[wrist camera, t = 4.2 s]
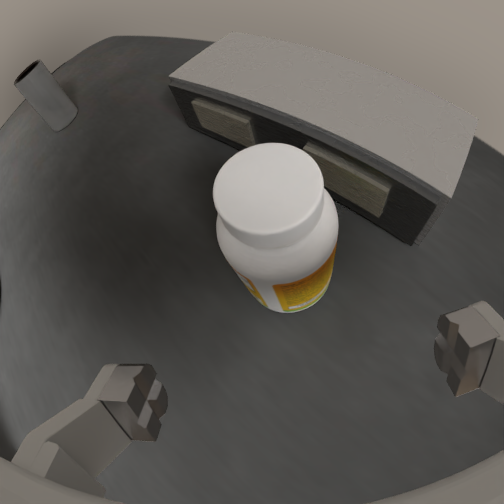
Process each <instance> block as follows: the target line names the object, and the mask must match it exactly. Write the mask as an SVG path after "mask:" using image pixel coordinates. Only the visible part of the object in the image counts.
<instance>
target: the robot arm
mask: <svg viewBox="0 0 504 504" xmlns="http://www.w3.org/2000/svg"><path fill="white" fill-rule="evenodd" d="M437 328H438V330H439V331H440V334H439V335H438V337H437V338H436V339H435V344H434V355H435V360H436V363H437V365H438V367H439V369H440V371H442V372H445V373H447V374H448V376H447V380H446V381H447V383H448V385H449V387H450V388H451V390H452V392H453V394H454V396H455V397H457V396H460V395H462V394H465V393H468V392H470V391H473V390H475V389H478V388H480V390H482V391H483V392H485V393H486V394H488V395H490V396H491V397H493V398H494V399H496V400H497V401H499V402H501V403H502V404H504V320H503V318H502V317H501V316H500V315H499V314H498V313H497V312H496V311H495V310H494V309H493V308H492V307H491V306H490V305H489V304H488V303H487V302H484V301H480V302H477V303H475V304H472V305H469V306H468V307H464V308H461V309H458V310H455V311H452V312H449V313H446V314H443V315H440V317H439V319H438V324H437ZM156 374H157V373H156V372H155V370H154V368H153V367H152V365H150V364H107V365H104V366H103V367H102V369H101V371H100V372H99V374H98V376H97V377H96V379H95V380H94V382H93V384H92V385H91V387H90V389H89V390H88V392H87V394H86V395H85V397H84V399H79V400H77V401H76V402H74V403H73V404H71V405H70V406H68V407H67V408H65V409H64V410H63V411H61V412H60V413H58V414H57V415H55V416H54V417H52V418H51V419H49V420H48V421H46V422H45V423H43V424H41V425H40V426H38V427H37V428H35V429H34V430H32V431H31V432H29V433H28V434H27V436H26V437H25V439H24V440H23V442H22V444H21V446H20V447H19V449H18V451H17V452H16V454H15V456H14V457H13V459H12V461H11V462H9V461H7V460H5V459H4V458H2V457H0V504H125V503H121V502H117V501H113V500H109V499H105V498H104V495H105V492H106V490H105V488H104V486H102V485H101V484H100V483H99V482H98V481H96V480H95V478H96V477H97V476H98V475H99V474H100V473H101V472H102V471H103V470H104V469H105V468H106V467H107V466H108V465H109V464H110V463H111V462H112V461H113V460H114V459H115V458H116V457H117V456H118V455H119V454H120V453H121V452H122V451H123V450H124V449H125V448H126V447H127V446H128V445H129V444H130V443H131V442H132V441H131V440H134V441H149V442H156V440H157V437H158V434H159V431H160V428H161V425H162V424H161V422H160V420H159V418H161V417H162V416H163V415H164V414H165V413H166V410H167V406H168V397H167V393H166V390H165V388H164V386H163V384H161V383H160V382H159V381H157V380H156V379H155V377H156ZM365 504H504V450H502V451H501V452H499V453H497V454H495V455H493V456H491V457H490V458H488V459H486V460H484V461H482V462H480V463H478V464H476V465H474V466H472V467H470V468H468V469H465V470H463V471H461V472H459V473H456V474H454V475H452V476H449V477H447V478H445V479H442V480H440V481H437V482H435V483H432V484H429V485H426V486H424V487H421V488H418V489H415V490H412V491H409V492H406V493H403V494H399V495H396V496H392V497H389V498H385V499H382V500H378V501H374V502H370V503H365Z"/></svg>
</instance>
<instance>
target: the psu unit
mask: <svg viewBox="0 0 504 504" xmlns="http://www.w3.org/2000/svg"><path fill="white" fill-rule="evenodd" d="M169 78H170V81H171V83H170V84H169V87H170V89H171V91H172V93H173V95H174V97H175V99H176V101H177V103H178V105H179V107H180V109H181V111H182V113H183V115H184V118H185V120H186V122H187V124H188V126H189V127H191V128H193V129H195V130H198V131H200V132H202V133H204V134H207V135H209V136H211V137H213V138H215V139H218V140H220V141H222V142H224V143H226V144H228V145H231V146H233V147H235V148H237V149H239V150H241V151H242V150H244V149H246V148H248V147H251V146H254V145H258V144H264V143H283V144H288V145H291V146H294V147H297V148H299V149H301V150H303V151H304V152H306V153H307V154H308V155H309V156H311V157H312V158H313V160H314V161H315V162H316V163H317V165H318V166H319V168H320V170H321V173H322V176H323V181H324V188H325V189H326V190H327V192H328V193H329V195H330V196H331V198H333V199H335V200H336V201H338V202H340V203H342V204H343V205H345V206H347V207H348V208H350V209H352V210H354V211H355V212H357V213H359V214H360V215H362V216H364V217H365V218H367V219H369V220H370V221H372V222H374V223H375V224H377V225H378V226H380V227H382V228H383V229H385V230H386V231H388V232H390V233H391V234H393V235H394V236H396V237H397V238H399V239H401V240H402V241H404V242H405V243H407V244H408V245H410V246H411V245H412V244H413V243H415V244H417V245H418V246H419V245H420V244H421V242H422V241H423V239H424V238H425V237H426V235H427V234H428V232H429V231H430V229H431V228H432V227H433V225H434V224H435V222H436V221H437V219H438V218H439V216H440V215H441V213H442V212H443V210H444V209H445V207H446V206H447V204H448V202H449V201H450V199H451V198H452V195H453V193H454V190H455V188H456V185H457V182H458V180H459V177H460V175H461V172H462V169H463V166H464V163H465V161H466V158H467V155H468V152H469V149H470V146H471V143H472V140H473V136H474V133H475V130H476V126H477V122H478V118H476V117H475V116H473V115H471V114H469V113H468V112H466V111H465V110H463V109H461V108H459V107H458V106H456V105H454V104H452V103H450V102H449V101H446V100H445V99H443V98H441V97H439V96H437V95H435V94H433V93H431V92H429V91H427V90H425V89H423V88H421V87H419V86H417V85H415V84H412V83H410V82H408V81H406V80H403V79H401V78H399V77H396V76H394V75H392V74H389V73H387V72H384V71H382V70H379V69H376V68H374V67H371V66H369V65H366V64H363V63H360V62H358V61H355V60H351V59H349V58H345V57H343V56H339V55H336V54H333V53H329V52H326V51H323V50H319V49H315V48H312V47H308V46H304V45H300V44H296V43H292V42H287V41H283V40H278V39H273V38H268V37H262V36H257V35H250V34H245V33H237V32H231V33H230V34H228V35H226V36H225V37H223V38H222V39H220V40H218V41H217V42H215V43H214V44H212V45H211V46H209V47H208V48H206V49H205V50H203V51H202V52H200V53H199V54H198V55H196V56H195V57H193V58H192V59H191V60H189V61H188V62H186V63H185V64H184V65H182V66H181V67H180V68H178V69H177V70H176V71H174V72H173V73H172V74H171V75H169Z"/></svg>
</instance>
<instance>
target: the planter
mask: <svg viewBox="0 0 504 504" xmlns="http://www.w3.org/2000/svg"><path fill="white" fill-rule="evenodd" d="M14 85H15V86H16V88H17V89H18V90H19V91H20V92H21V94H22V95H23V96H24V97H25V98H26V100H27V101H28V102H29V103H30V104H31V105H32V107H33V108H34V109H35V110H36V111H37V112H38V114H39V115H40V116H41V117H42V118H43V119H44V120H45V122H46V123H47V124H48V125H49V126H50V127H51V128H52V129H53V130H54V131H60V130H62V129H63V128H65V127H66V126H67V125H69V124H70V123H71V122H72V120H73V119H74V118H75V116H76V114H77V112H78V109H77V108H76V106H75V105H74V104H73V102H72V101H71V100H70V98H69V97H68V96H67V94H66V93H65V92H64V91H63V89H62V88H61V87H60V85H59V84H58V83H57V81H56V80H55V79H54V77H53V76H52V75H51V73H50V72H49V71H48V69H47V68H46V66H45V65H44V64H43V62H42V61H41V60H37V61H35V62H33V63H32V64H31V65H30V66H28V67H27V68H26V69H25V70H24V71H23V72H22V73H21V74H20V75H19V76H18V77H17V79H16V80H15V82H14Z"/></svg>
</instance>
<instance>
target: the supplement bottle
mask: <svg viewBox="0 0 504 504" xmlns="http://www.w3.org/2000/svg"><path fill="white" fill-rule="evenodd" d="M213 200H214V205H215V208H216V210H217V212H218V216H217V222H216V232H217V239H218V243H219V246H220V249H221V251H222V253H223V254H224V256H225V258H226V260H227V261H228V263H229V264H230V265H231V267H232V268H233V269H234V271H235V272H236V273H237V275H238V276H239V278H240V279H241V280H242V282H243V283H244V284H245V286H246V287H247V289H248V290H249V291H250V293H251V294H252V295H253V296H254V298H255V299H256V300H257V301H258V302H260V303H261V304H262V305H264V306H265V307H267V308H269V309H271V310H274V311H277V312H283V313H291V312H298V311H301V310H304V309H306V308H308V307H310V306H312V305H313V304H315V303H316V302H317V301H318V300H319V299H320V298H321V297H322V296H323V295H324V293H325V291H326V290H327V288H328V285H329V283H330V280H331V275H332V269H333V263H334V258H335V253H336V246H337V238H338V215H337V211H336V207H335V204H334V202H333V200H332V198H331V196H330V195H329V193H328V192H327V190H326V189H325V188H324V181H323V176H322V173H321V170H320V168H319V166H318V165H317V163H316V162H315V161H314V160H313V158H312V157H311V156H309V155H308V154H307V153H306V152H304V151H303V150H301V149H299V148H297V147H294V146H291V145H288V144H283V143H264V144H258V145H254V146H251V147H248V148H246V149H244V150H242V151H240V152H238V153H236V154H235V155H234V156H232V157H231V158H230V159H229V160H228V161H227V162H226V163H225V164H224V165H223V166H222V168H221V169H220V171H219V172H218V174H217V176H216V179H215V182H214V186H213Z"/></svg>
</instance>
